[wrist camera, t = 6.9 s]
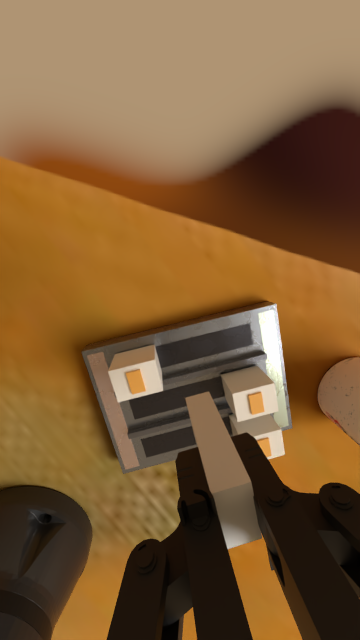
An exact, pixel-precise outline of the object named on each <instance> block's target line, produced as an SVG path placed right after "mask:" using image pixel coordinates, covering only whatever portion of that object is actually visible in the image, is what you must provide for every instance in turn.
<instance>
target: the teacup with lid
mask: <svg viewBox="0 0 360 640" xmlns="http://www.w3.org/2000/svg"><path fill="white" fill-rule="evenodd" d="M318 403H319V406H320V408H321V410H322V411H323V413H324V414H325V415H326V416H327V417H328V418H330V419H331V420H332V421H333V422H334V423H335V424H336V425H337V426H338V427H340V428H341V429H342V430H343V431H344V432H345V433H346V434H347V435H349V436H350V437H351V438H352V439H353V440H354V441H355V442H356V443H357V444H359V445H360V357H354V358H348V359H345V360H343V361H341V362H339V363H337V364H335V365H334V366H333V367H331V368H330V369H329V370H328V371H327V372H326V374H325V375H324V377H323V378H322V380H321V382H320V385H319V388H318Z"/></svg>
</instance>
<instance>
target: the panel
mask: <svg viewBox="0 0 360 640" xmlns="http://www.w3.org/2000/svg"><path fill="white" fill-rule="evenodd" d="M154 344H155V348H156V352H157V356H158V359H159V363H160V367H161V371H162V382H163V391H161V392H157V393H153V394H149V395H145V396H141V397H138V398H134V399H130V400H126V401H122V402H118V401H117V398H116V395H115V392H114V388H113V385H112V382H111V379H110V376H109V373H108V370H109V368H110V365H111V363H112V360H113V358H114V355H115V354H118V353H122V352H126V351H130V350H134V349H138V348H142V347H146V346H150V345H154ZM82 355H83V358H84V361H85V364H86V367H87V370H88V373H89V375H90V378H91V381H92V384H93V387H94V390H95V393H96V396H97V399H98V402H99V405H100V407H101V410H102V413H103V416H104V419H105V422H106V425H107V428H108V431H109V434H110V437H111V440H112V442H113V445H114V448H115V451H116V454H117V457H118V460H119V463H120V466H121V469H122V472H123V474H124V473H128V472H132V471H135V470H139V469H143V468H147V467H150V466H154V465H158V464H161V463H165V462H169V461H172V460H176V458H177V455H178V452H181V451H185V450H188V449H192V448H195V447H197V444H196V440H195V436H194V432H193V428H192V424H191V420H190V416H189V412H188V408H187V404H186V399H185V398H186V397H190V396H194V395H197V394H201V393H205V392H208V391H209V393H210V395H211V397H212V399H213V401H214V403H215V405H216V407H217V410H218V412H219V414H220V416H221V418H222V420H223V422H224V425H225V427H226V429H227V431H228V433H229V435H230V437H232V436H233V433H232V428H231V423H230V418H229V415H231V414H233V412H232V410H231V408H230V406H229V405H228V403H227V401H226V398H225V393H224V388H223V383H222V378H221V374H225V373H229V372H233V371H237V370H241V369H245V368H249V367H252V366H256V365H257V366H258V367H259V368H260V369H261V370H262V371H263V372H264V373H265V374H266V375H267V376H268V377H269V378H270V379H271V380H272V381H273V382H274V383H275V389H276V396H277V403H278V410H279V411H278V412H274V413H270V415H271V416H272V418H273V419H274V420H275V422H276V423H277V424H278V426H279V427H280V428H281V431H284V430H287V429H291V428H292V422H291V414H290V406H289V399H288V391H287V383H286V376H285V368H284V360H283V353H282V345H281V337H280V330H279V322H278V314H277V307H276V304H275V303H272V302H269V301H265V302H261V303H257V304H253V305H249V306H245V307H241V308H237V309H233V310H229V311H224V312H220V313H216V314H212V315H208V316H204V317H200V318H196V319H192V320H188V321H183V322H179V323H175V324H171V325H167V326H163V327H159V328H155V329H151V330H147V331H143V332H138V333H134V334H130V335H126V336H122V337H118V338H114V339H110V340H106V341H102V342H97V343H93V344H89V345H86V347H85V348H84V349H83V350H82Z"/></svg>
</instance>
